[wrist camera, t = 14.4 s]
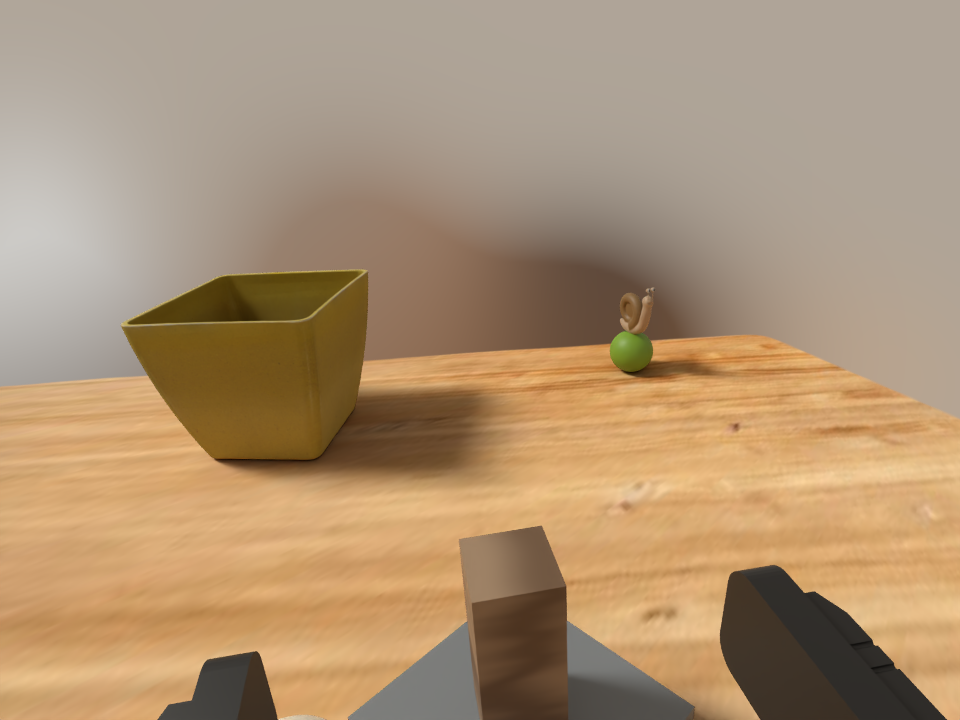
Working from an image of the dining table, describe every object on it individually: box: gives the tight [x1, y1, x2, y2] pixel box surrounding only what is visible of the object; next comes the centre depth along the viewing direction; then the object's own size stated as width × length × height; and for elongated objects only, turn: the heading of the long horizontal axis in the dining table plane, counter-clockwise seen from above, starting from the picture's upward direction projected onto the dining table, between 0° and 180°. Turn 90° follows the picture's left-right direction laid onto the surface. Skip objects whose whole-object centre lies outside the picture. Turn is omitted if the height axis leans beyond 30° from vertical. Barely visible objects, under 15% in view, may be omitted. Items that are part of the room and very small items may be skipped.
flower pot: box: [121, 270, 368, 460], centre depth 66 cm, size 19×19×17 cm
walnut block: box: [459, 526, 568, 720], centre depth 32 cm, size 4×4×11 cm
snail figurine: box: [610, 288, 655, 372], centre depth 76 cm, size 5×6×12 cm
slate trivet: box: [348, 621, 694, 720], centre depth 34 cm, size 14×14×1 cm
